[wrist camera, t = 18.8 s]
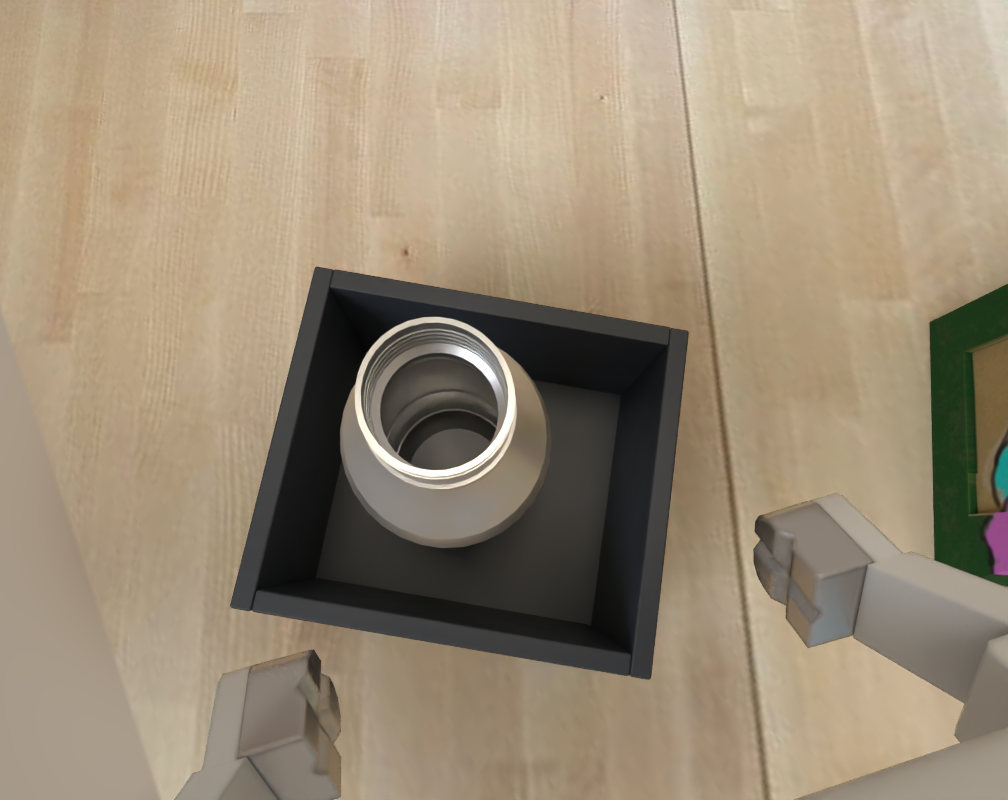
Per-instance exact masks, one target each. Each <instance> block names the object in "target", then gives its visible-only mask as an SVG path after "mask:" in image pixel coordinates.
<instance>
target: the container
mask: <svg viewBox="0 0 1008 800" xmlns="http://www.w3.org/2000/svg"><path fill="white" fill-rule="evenodd" d="M930 350H931V397H932V443H933V490H934V536H935V561H938V562H940V563H943V564H946V565H948V566H951V567H954V568H956V569H959V570H962V571H964V572H967V573H970V574H972V575H975V576H977V577H980V578H983V579H985V580H988V581H991V582H993V583H996V584H999V585H1001V586H1008V284H1007V285H1005V286H1002V287H1000V288H998V289H996V290H994V291H992V292H990V293H988V294H986V295H984V296H982V297H980V298H978V299H976V300H974V301H972V302H970V303H968V304H966V305H964V306H962V307H960V308H958V309H956V310H954V311H952V312H950V313H948V314H946V315H944V316H942V317H940V318H938V319H936V320H934V321H932V322H930Z"/></svg>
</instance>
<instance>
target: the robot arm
mask: <svg viewBox="0 0 1008 800" xmlns="http://www.w3.org/2000/svg"><path fill="white" fill-rule="evenodd" d="M755 533H756V534H757V535H758V536H759V538H760V539H761V540H760V541H759V542H758V544H757V545H756V546H755V548H754V565H755V569H756V572H757V576H758V578H759V580H760V582H761V584H762V586H763V587H764V589H765V590H766V592H767V593H768V595H769V596H770V597H771V599H774V600H776V601H778V602H780V603H782V604H784V605H786V619H787V621H788V622H789V623H790V625H791V626H792V627H793V629H794V630H795V631H796V633H797V634H798V635H799V637H800V638H801V639H802V641H803V642H804V644H805V645H806V646H807V648H810V647H814V646H817V645H821V644H824V643H828V642H831V641H835V640H838V639H842V638H845V637H849V636H852V635H854V636H853V638H854V639H856V640H858V641H860V642H861V643H863V644H865V645H866V646H868V647H870V648H871V649H873V650H875V651H876V652H878V653H880V654H882V655H883V656H885V657H887V658H888V659H890V660H892V661H893V662H895V663H897V664H898V665H900V666H902V667H903V668H905V669H907V670H909V671H910V672H912V673H914V674H915V675H917V676H919V677H920V678H922V679H924V680H925V681H927V682H929V683H931V684H932V685H934V686H936V687H937V688H939V689H941V690H942V691H944V692H946V693H947V694H949V695H951V696H953V697H954V698H956V699H958V700H959V701H961V702H963V703H964V706H963V709H962V711H961V714H960V717H959V719H958V722H957V725H956V729H955V735H954V736H955V737H956V738H957V739H958V740H959V742H960V743H959V744H956V745H953V746H950V747H947V748H944V749H941V750H938V751H935V752H932V753H930V754H927V755H924V756H921V757H918V758H915V759H912V760H909V761H906V762H903V763H900V764H897V765H894V766H891V767H888V768H885V769H883V770H880V771H877V772H874V773H871V774H868V775H865V776H862V777H859V778H856V779H853V780H850V781H847V782H844V783H841V784H838V785H835V786H833V787H830V788H827V789H824V790H821V791H818V792H815V793H812V794H809V795H806V796H803V797H800V798H797V799H794V800H1008V588H1007V587H1004V586H1001V585H999V584H996V583H993V582H991V581H988V580H985V579H983V578H980V577H977V576H975V575H972V574H970V573H967V572H964V571H962V570H959V569H956V568H954V567H951V566H948V565H946V564H943V563H940V562H938V561H935V560H932V559H930V558H927V557H925V556H922V555H919V554H917V553H914V552H908V553H904V554H903V553H902V552H901V551H900V550H899V549H898V548H897V547H896V546H895V545H894V544H893V543H892V542H891V541H890V540H889V539H888V538H887V537H886V536H885V535H884V534H883V533H881V532H880V531H879V530H878V529H877V528H876V527H875V526H874V525H873V524H872V523H871V522H870V521H869V520H868V519H867V518H866V517H865V516H864V515H863V514H862V513H861V512H860V511H858V510H857V509H856V508H855V507H854V506H853V505H852V504H851V503H850V502H849V501H848V500H847V499H846V498H845V497H844V496H843V495H840V494H838V493H834V494H830V495H827V496H824V497H820V498H817V499H814V500H810V501H805V502H802V503H799V504H796V505H792V506H789V507H786V508H783V509H780V510H776V511H773V512H770V513H767V514H764V515H760V516H759V517H758V518H757V520H756V521H755ZM340 732H341V716H340V709H339V703H338V697H337V694H336V691H335V688H334V685H333V683H332V681H331V679H330V677H329V676H326V675H324V674H321V660H320V659H319V657H318V655H317V654H316V652H315V650H308V651H305V652H301V653H297V654H294V655H290V656H286V657H282V658H279V659H275V660H271V661H268V662H264V663H260V664H256V665H253V666H250V667H246V668H243V669H239V670H236V671H232V672H228V673H225V674H223V675H222V677H221V679H220V680H219V682H218V684H217V689H216V695H215V700H214V706H213V712H212V717H211V723H210V728H209V734H208V740H207V745H206V751H205V756H204V762H203V768H202V770H201V771H198V772H195V773H193V774H192V775H191V777H190V778H189V779H188V781H187V782H186V784H185V785H184V786H183V788H182V789H181V791H180V792H179V793H178V795H177V796H176V798H175V799H174V800H334V799H337V798H339V797H341V756H340V755H339V753H338V751H337V749H336V747H335V746H334V742H335V741H336V739H337V737H338V736H339V734H340Z"/></svg>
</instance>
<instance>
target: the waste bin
mask: <svg viewBox="0 0 1008 800" xmlns="http://www.w3.org/2000/svg"><path fill="white" fill-rule="evenodd" d="M422 317H443V318H449V319H454V320H457V321H460V322H463V323H465V324H468V325H470V326H471V327H473V328H475V329H476V330H478V331H480V332H481V333H482V334H484V335H485V336H486V337H487V338H488V339H489V340H490V341H491V342H493V344H494V345H495V346H496V347H497V348H499V349H501V350H502V351H504V352H506V353H507V354H508V355H509V356H511V357H512V358H513V359H514V360H515V361H516V362H517V363H518V364H520V365H521V366H522V367H523V369H524V370H525V371H526V372H527V374H528V375H529V376H530V378H531V379H532V380H533V382H534V383H535V385H536V387H537V389H538V391H539V393H540V395H541V397H542V399H543V400H544V403H545V407H546V410H547V414H548V417H549V421H550V430H551V441H552V444H551V454H550V463H549V467H548V470H547V473H546V477H545V480H544V483H543V485H542V487H541V489H540V491H539V493H538V495H537V496H536V498H535V500H534V502H533V503H532V504H531V506H530V507H529V508H528V509H527V510H526V512H525V513H524V514H523V515H522V516H521V518H520V519H519V520H517V521H516V522H515V523H514V524H512V525H511V526H510V527H509V528H507V529H506V530H505V531H504V532H502V533H500V534H498V535H496V536H494V537H492V538H490V539H488V540H486V541H484V542H480V543H477V544H473V545H469V546H466V547H455V548H438V547H431V546H425V545H420V544H417V543H414V542H412V541H409V540H406V539H404V538H401V537H399V536H398V535H396V534H394V533H393V532H391V531H390V530H388V529H386V528H385V527H383V526H382V525H381V524H380V523H379V522H378V521H377V520H376V519H374V518H373V517H372V516H371V515H370V514H369V513H368V512H367V511H366V510H365V508H364V507H363V505H362V504H361V502H360V501H359V500H358V498H357V497H356V495H355V494H354V492H353V490H352V488H351V485H350V483H349V481H348V478H347V476H346V474H345V470H344V466H343V461H342V456H341V452H340V428H341V422H342V417H343V411H344V408H345V405H346V402H347V400H348V397H349V395H350V392H351V390H352V388H353V387H354V385H355V383H356V380H357V374H358V372H359V369H360V366H361V364H362V361H363V359H364V358H365V356H366V354H367V353H368V351H369V350H370V348H371V347H372V346H373V345H374V344H375V342H376V341H377V340H378V339H379V338H380V337H381V336H382V335H384V334H385V333H386V332H388V331H389V330H391V329H392V328H394V327H395V326H398V325H400V324H402V323H404V322H407V321H409V320H414V319H418V318H422ZM688 335H689V332H688V331H686V330H680V329H674V328H670V327H665V326H659V325H654V324H648V323H642V322H636V321H630V320H625V319H619V318H613V317H607V316H601V315H596V314H590V313H584V312H578V311H573V310H567V309H561V308H555V307H549V306H544V305H538V304H532V303H526V302H520V301H515V300H509V299H503V298H497V297H491V296H486V295H480V294H474V293H468V292H462V291H457V290H451V289H445V288H439V287H434V286H428V285H422V284H416V283H410V282H405V281H399V280H393V279H387V278H381V277H376V276H370V275H364V274H358V273H352V272H347V271H341V270H332V269H327V268H321V267H315V269H314V273H313V277H312V281H311V285H310V289H309V293H308V297H307V301H306V305H305V309H304V313H303V317H302V321H301V325H300V329H299V333H298V337H297V341H296V345H295V349H294V353H293V357H292V361H291V365H290V369H289V373H288V377H287V381H286V385H285V389H284V393H283V397H282V401H281V405H280V409H279V413H278V417H277V421H276V425H275V429H274V433H273V437H272V441H271V445H270V449H269V453H268V457H267V461H266V465H265V469H264V473H263V477H262V481H261V485H260V489H259V493H258V497H257V501H256V505H255V509H254V513H253V517H252V521H251V525H250V529H249V533H248V537H247V541H246V544H245V548H244V552H243V556H242V560H241V564H240V568H239V572H238V576H237V580H236V584H235V588H234V592H233V596H232V600H231V604H230V607H231V608H234V609H240V610H246V611H251V610H252V611H253V612H257V613H263V614H269V615H275V616H281V617H286V618H292V619H298V620H304V621H310V622H316V623H321V624H327V625H333V626H339V627H345V628H350V629H356V630H362V631H368V632H374V633H380V634H385V635H391V636H397V637H403V638H409V639H414V640H420V641H426V642H432V643H438V644H444V645H449V646H455V647H461V648H467V649H473V650H479V651H484V652H490V653H496V654H502V655H508V656H513V657H519V658H525V659H531V660H537V661H543V662H548V663H554V664H560V665H566V666H572V667H577V668H583V669H589V670H595V671H601V672H607V673H612V674H618V675H624V676H628V675H630V676H631V677H636V678H641V679H647V680H649V679H651V674H652V665H653V655H654V646H655V637H656V628H657V619H658V610H659V601H660V591H661V582H662V573H663V564H664V555H665V546H666V536H667V527H668V518H669V509H670V500H671V491H672V481H673V472H674V463H675V454H676V445H677V436H678V426H679V417H680V408H681V399H682V390H683V381H684V372H685V362H686V353H687V344H688Z"/></svg>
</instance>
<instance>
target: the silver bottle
mask: <svg viewBox="0 0 1008 800" xmlns="http://www.w3.org/2000/svg"><path fill="white" fill-rule="evenodd" d="M551 444H552V441H551V430H550V421H549V417H548V414H547V410H546V407H545V403H544V400H543V399H542V397H541V395H540V393H539V391H538V389H537V387H536V385H535V383H534V382H533V380H532V379H531V378H530V376H529V375H528V374H527V372H526V371H525V370H524V369H523V367H522V366H521V365H520V364H518V363H517V362H516V361H515V360H514V359H513V358H512V357H511V356H509V355H508V354H507V353H506V352H504V351H502V350H501V349H499V348H497V347H496V346H495V345H494V344H493V342H491V341H490V340H489V339H488V338H487V337H486V336H485V335H484V334H482V333H481V332H480V331H478V330H476V329H475V328H473V327H471V326H470V325H468V324H465V323H463V322H460V321H457V320H454V319H449V318H443V317H422V318H418V319H414V320H409V321H407V322H404V323H402V324H400V325H398V326H395V327H394V328H392V329H391V330H389V331H388V332H386V333H385V334H384V335H382V336H381V337H380V338H379V339H378V340H377V341H376V342H375V344H374V345H373V346H372V347H371V348H370V350H369V351H368V353H367V354H366V356H365V358H364V359H363V361H362V364H361V366H360V369H359V372H358V374H357V380H356V383H355V385H354V387H353V388H352V390H351V392H350V395H349V397H348V400H347V402H346V405H345V408H344V411H343V417H342V422H341V428H340V452H341V456H342V461H343V466H344V470H345V474H346V476H347V478H348V481H349V483H350V485H351V488H352V490H353V492H354V494H355V495H356V497H357V498H358V500H359V501H360V502H361V504H362V505H363V507H364V508H365V510H366V511H367V512H368V513H369V514H370V515H371V516H372V517H373V518H374V519H376V520H377V521H378V522H379V523H380V524H381V525H382V526H383V527H385V528H386V529H388V530H390V531H391V532H393V533H394V534H396V535H398V536H399V537H401V538H404V539H406V540H409V541H412V542H414V543H417V544H420V545H425V546H431V547H438V548H455V547H466V546H469V545H473V544H477V543H480V542H484V541H486V540H488V539H490V538H492V537H494V536H496V535H498V534H500V533H502V532H504V531H505V530H506V529H507V528H509V527H510V526H511V525H512V524H514V523H515V522H516V521H517V520H519V519H520V518H521V516H522V515H523V514H524V513H525V512H526V510H527V509H528V508H529V507H530V506H531V504H532V503H533V502H534V500H535V498H536V496H537V495H538V493H539V491H540V489H541V487H542V485H543V483H544V480H545V477H546V473H547V470H548V467H549V463H550V454H551Z"/></svg>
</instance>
